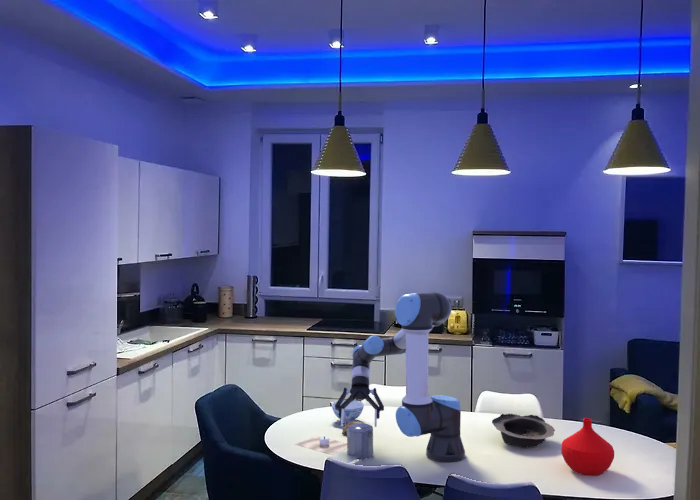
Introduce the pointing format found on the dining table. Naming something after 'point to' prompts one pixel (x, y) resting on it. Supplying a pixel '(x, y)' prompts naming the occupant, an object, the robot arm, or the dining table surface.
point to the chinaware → (350, 411)
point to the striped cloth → (315, 445)
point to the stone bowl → (523, 429)
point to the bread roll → (347, 426)
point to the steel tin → (360, 440)
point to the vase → (587, 451)
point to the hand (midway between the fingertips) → (358, 425)
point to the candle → (324, 441)
